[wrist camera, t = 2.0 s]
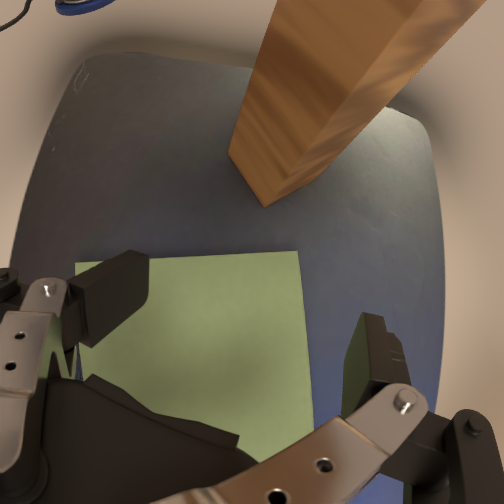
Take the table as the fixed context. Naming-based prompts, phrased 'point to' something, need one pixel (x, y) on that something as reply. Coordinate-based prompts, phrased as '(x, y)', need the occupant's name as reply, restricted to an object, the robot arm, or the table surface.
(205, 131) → the table surface
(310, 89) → the wooden pedestal column
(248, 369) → the green square mat
